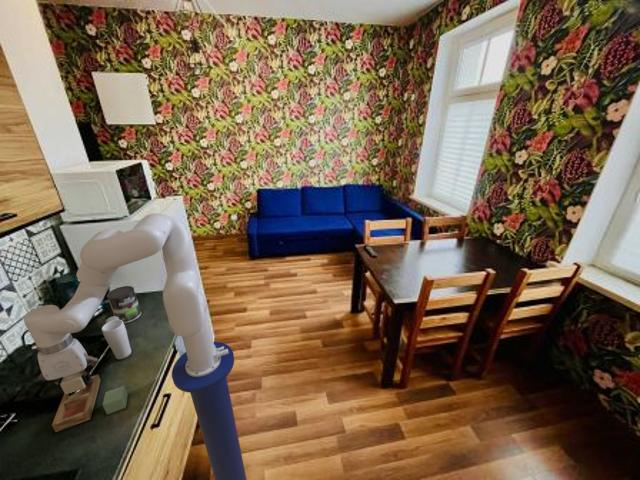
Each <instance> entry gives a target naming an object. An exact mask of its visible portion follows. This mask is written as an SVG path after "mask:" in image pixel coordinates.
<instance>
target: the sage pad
mask: <svg viewBox="0 0 640 480" xmlns="http://www.w3.org/2000/svg"><path fill="white" fill-rule="evenodd" d="M127 401H128V393H127V389H126V388H125V385H122V386H120V387H116V388H114V389H111V390H107V391H106V392H105V393H104V397H103V402H102V407H103V409H104V411H105V414H106V415H110V414H112V413H116V412H117V411H121V410H123V409H126V407H127Z"/></svg>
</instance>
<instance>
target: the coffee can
mask: <svg viewBox="0 0 640 480" xmlns="http://www.w3.org/2000/svg"><path fill="white" fill-rule="evenodd" d="M106 298H107V300H108V302H109V305H110V308H111V311H112V313H113V316H117V317H118V318H119V320H122V321H123V323H124V324H127V323H128V324H129V323H131V322H134V321H135V320H137V319H139V317H141V316H142V311H141V307H140V305H139V300H138V298H137V294H136V291H135V288H134V287H133V286H131V285H123V286H119V287H116V288H114V289H112V290H110V291H109V292H108V293H106Z"/></svg>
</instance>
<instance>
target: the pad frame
mask: <svg viewBox="0 0 640 480" xmlns="http://www.w3.org/2000/svg"><path fill="white" fill-rule="evenodd" d="M100 385H101V378H100V375H99V374H95V375H91V380H89V383H88V385H86V386H85V388H84V389H81V390H80V391H79V392H77V393H75V394H73V395H71V396H69V394H66V395H65V393H64V392H63V396H62V398H61V401H60V404H59V405H58V408H57V411H56V414H55V416H54V418H53V421H52V424H51V427H52V429H53V430H54V432H55V433H58V432H60V431H63V430H66V429H68V428H71V427H74V426H76V425H79V424H81V423H85V422H87V421H90V420H91V418H92V414H93V410H94V408H95V404H96V399H97V395H98V392H99V390H100V389H99V388H100Z"/></svg>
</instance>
